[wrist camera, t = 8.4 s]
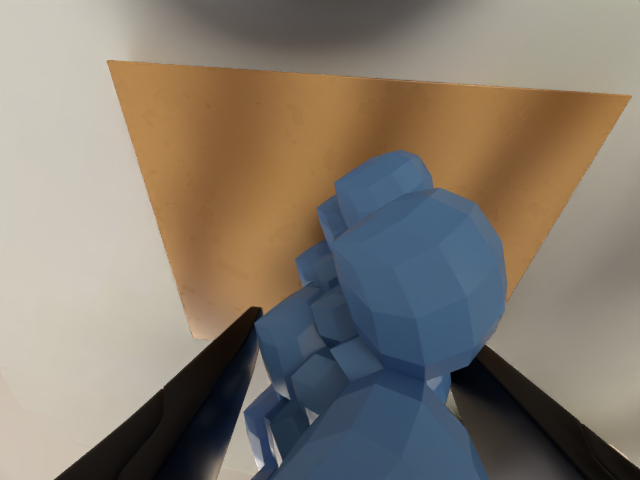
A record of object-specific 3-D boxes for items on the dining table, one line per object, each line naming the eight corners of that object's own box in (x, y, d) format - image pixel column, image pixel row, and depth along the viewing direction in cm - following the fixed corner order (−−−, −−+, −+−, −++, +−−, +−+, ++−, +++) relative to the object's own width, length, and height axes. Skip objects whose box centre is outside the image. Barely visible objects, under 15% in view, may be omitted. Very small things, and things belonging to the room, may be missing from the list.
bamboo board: (605, 97, 9) (633, 95, 9) (464, 347, 17) (471, 360, 16) (126, 64, 10) (105, 59, 9) (199, 327, 17) (192, 338, 16)
